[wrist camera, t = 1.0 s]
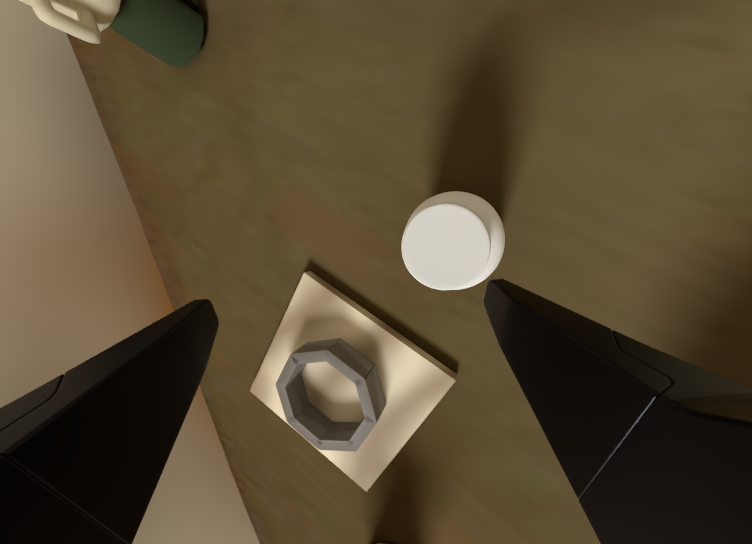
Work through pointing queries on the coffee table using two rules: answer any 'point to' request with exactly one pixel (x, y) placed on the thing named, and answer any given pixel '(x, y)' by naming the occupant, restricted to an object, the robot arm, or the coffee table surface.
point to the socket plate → (348, 380)
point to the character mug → (130, 23)
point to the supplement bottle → (453, 241)
